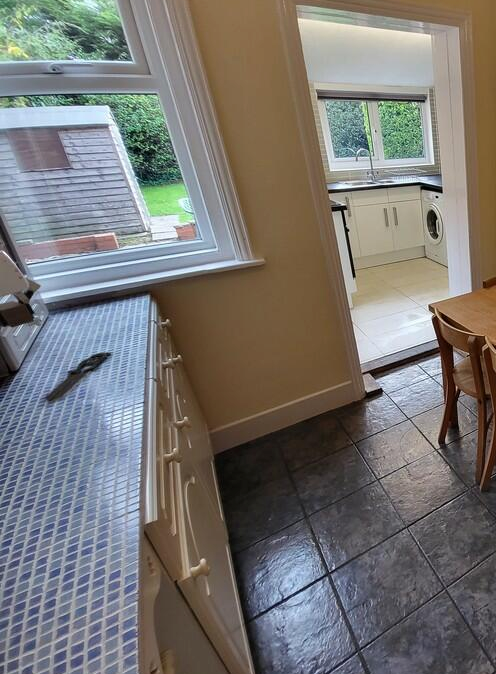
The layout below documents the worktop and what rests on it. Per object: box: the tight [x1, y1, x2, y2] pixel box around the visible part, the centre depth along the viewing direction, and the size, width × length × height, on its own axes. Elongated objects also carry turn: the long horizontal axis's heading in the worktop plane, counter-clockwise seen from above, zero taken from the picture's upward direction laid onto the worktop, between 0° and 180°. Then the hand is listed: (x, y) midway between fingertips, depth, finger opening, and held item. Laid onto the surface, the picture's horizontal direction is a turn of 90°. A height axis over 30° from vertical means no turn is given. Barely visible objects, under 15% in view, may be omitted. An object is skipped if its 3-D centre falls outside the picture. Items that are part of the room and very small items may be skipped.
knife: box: [45, 351, 112, 405], centre depth 105 cm, size 25×6×1 cm, turn 16°
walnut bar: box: [0, 300, 35, 328], centre depth 101 cm, size 7×4×4 cm, turn 65°
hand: (16, 321), depth 101 cm, fingers closed on walnut bar, 4 cm apart
